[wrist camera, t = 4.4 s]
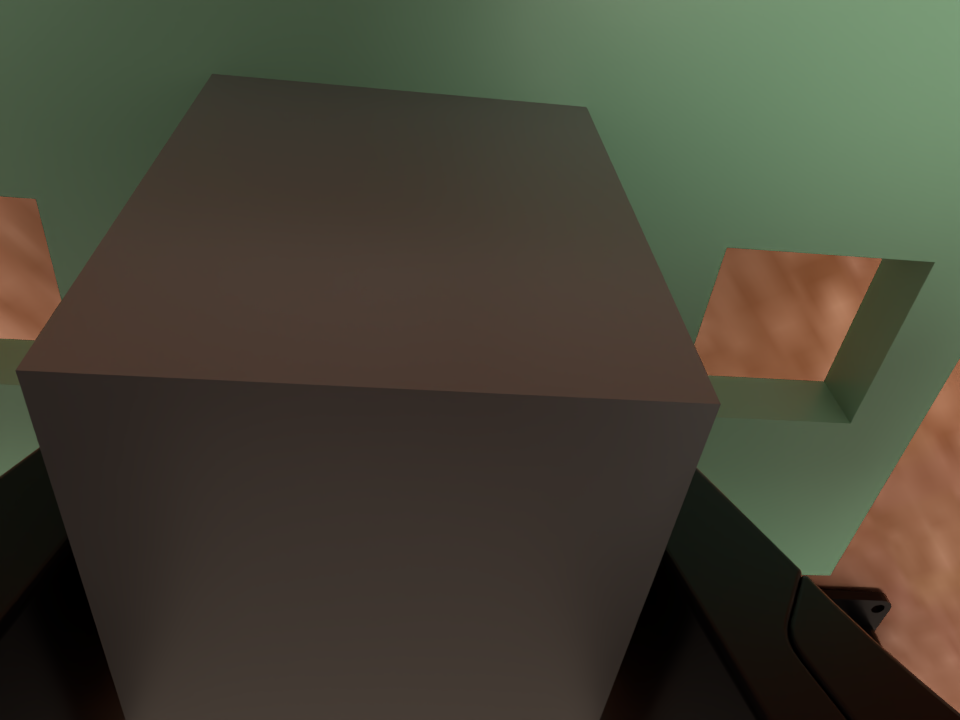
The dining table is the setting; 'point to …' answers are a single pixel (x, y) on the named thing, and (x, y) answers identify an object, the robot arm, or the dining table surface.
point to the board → (671, 140)
